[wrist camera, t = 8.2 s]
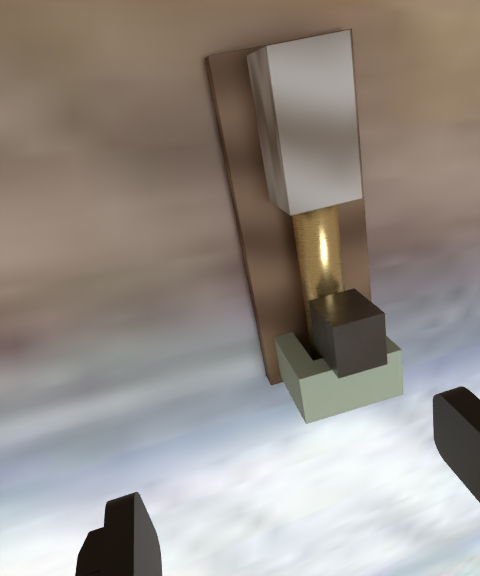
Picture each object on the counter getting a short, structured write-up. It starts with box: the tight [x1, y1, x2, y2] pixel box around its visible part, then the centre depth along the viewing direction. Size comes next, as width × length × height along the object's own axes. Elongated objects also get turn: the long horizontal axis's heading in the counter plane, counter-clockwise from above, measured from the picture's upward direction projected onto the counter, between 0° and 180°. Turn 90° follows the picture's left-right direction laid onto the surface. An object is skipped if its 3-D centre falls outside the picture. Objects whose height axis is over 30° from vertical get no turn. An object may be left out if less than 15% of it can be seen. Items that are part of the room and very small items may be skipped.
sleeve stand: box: [205, 29, 371, 385], centre depth 33 cm, size 26×10×6 cm, turn 11°
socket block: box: [274, 332, 403, 424], centre depth 36 cm, size 4×8×6 cm, turn 101°
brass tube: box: [292, 204, 388, 379], centre depth 31 cm, size 17×4×8 cm, turn 11°
